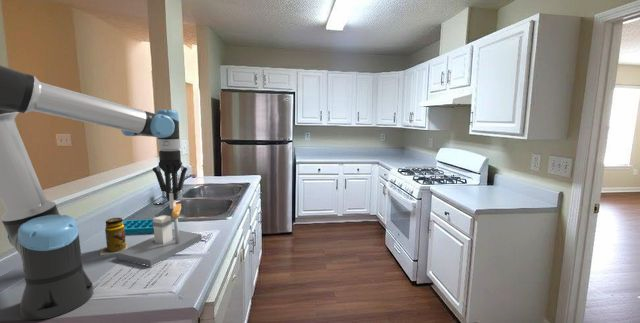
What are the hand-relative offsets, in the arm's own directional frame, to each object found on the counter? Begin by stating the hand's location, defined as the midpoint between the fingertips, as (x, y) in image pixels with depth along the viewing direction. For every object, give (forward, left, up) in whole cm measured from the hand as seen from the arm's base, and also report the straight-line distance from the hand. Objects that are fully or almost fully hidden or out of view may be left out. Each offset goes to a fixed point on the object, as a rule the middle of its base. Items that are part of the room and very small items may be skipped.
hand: (172, 207), depth 119 cm
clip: (-1, -3, -12) cm, 12 cm away
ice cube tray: (+5, +24, -15) cm, 29 cm away
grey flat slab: (-7, -1, -14) cm, 16 cm away
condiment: (-14, +16, -15) cm, 26 cm away
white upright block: (-5, 0, -14) cm, 15 cm away
